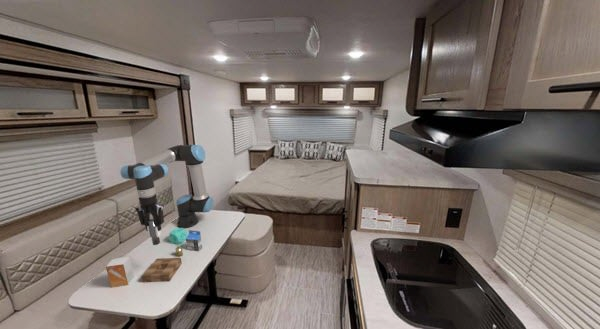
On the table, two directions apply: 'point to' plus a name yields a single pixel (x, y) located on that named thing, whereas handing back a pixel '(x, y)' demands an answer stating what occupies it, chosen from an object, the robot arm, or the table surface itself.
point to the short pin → (179, 251)
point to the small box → (120, 271)
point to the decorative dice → (178, 235)
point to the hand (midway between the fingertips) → (155, 235)
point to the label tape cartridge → (194, 241)
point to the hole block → (162, 270)
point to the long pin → (153, 232)
